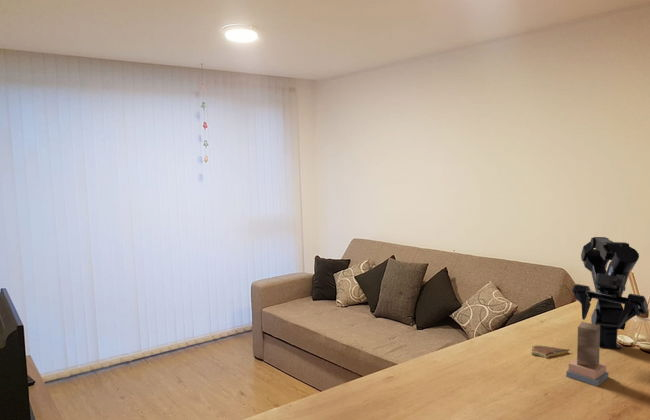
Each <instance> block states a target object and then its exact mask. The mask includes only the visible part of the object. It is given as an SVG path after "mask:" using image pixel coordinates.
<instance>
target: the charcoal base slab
mask: <svg viewBox="0 0 650 420" xmlns="http://www.w3.org/2000/svg"><path fill="white" fill-rule="evenodd" d="M565 374H566V375H565V377H566V378H569V379H573V380H576V381H578V382H582V383H586V384H588V385H590V386H595V387H599V386H600V385H601V384H602V383H603V382H605V381H606V380H607V379H608V378H609V374H610V373H609V371H606V373H604V374H603V375H601V376H600V377H598V378H597V379H596V380H594V379H591V378H588V377H585V376H582V375H579V374H576V373H574V372H571V371H568V370H567V371H566V373H565Z"/></svg>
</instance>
